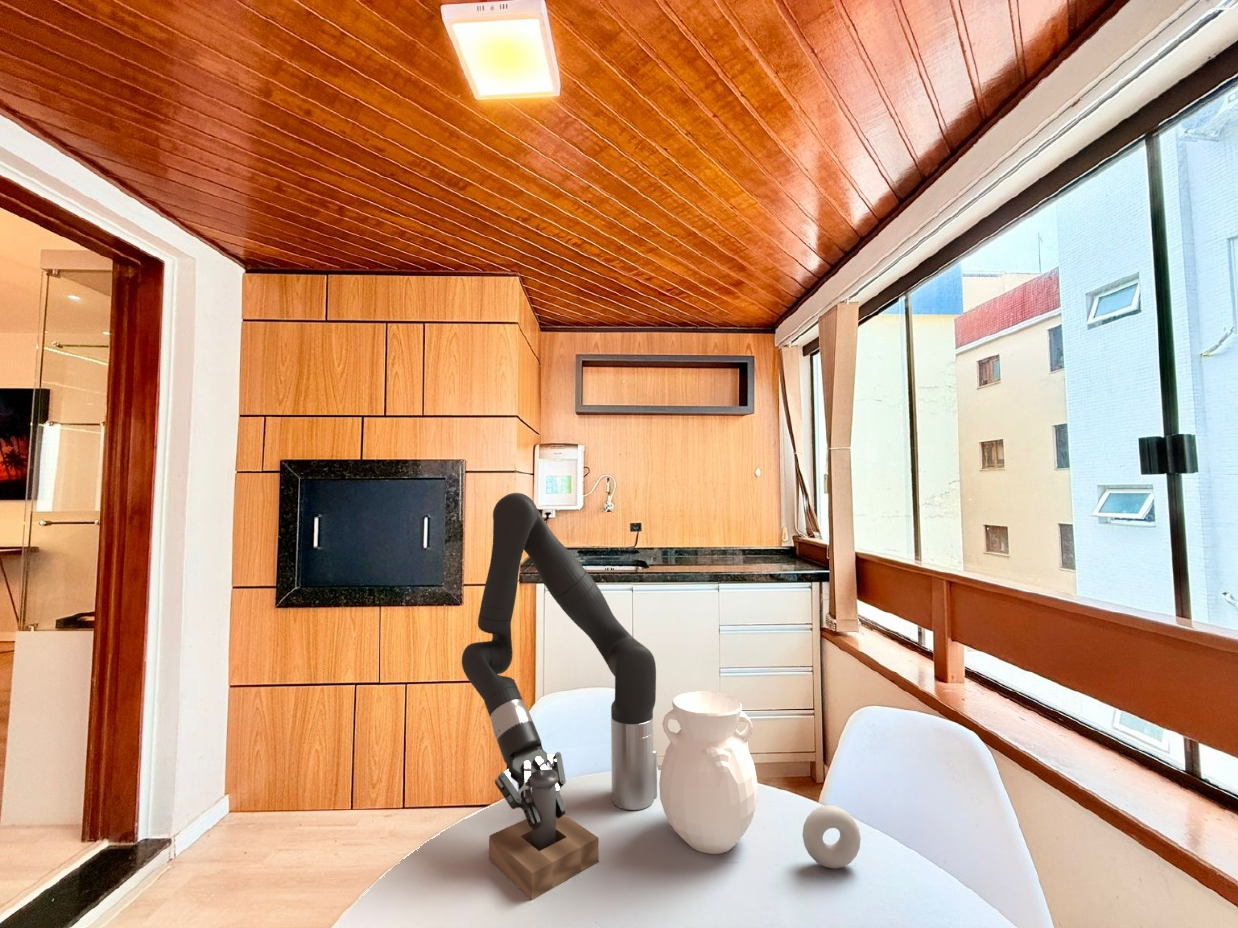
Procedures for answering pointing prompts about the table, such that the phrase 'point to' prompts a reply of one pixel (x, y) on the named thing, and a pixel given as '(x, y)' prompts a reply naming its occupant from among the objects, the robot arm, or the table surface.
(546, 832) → the plug
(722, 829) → the white handled vase
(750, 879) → the table surface
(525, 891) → the socket block
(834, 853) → the donut
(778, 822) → the table surface
